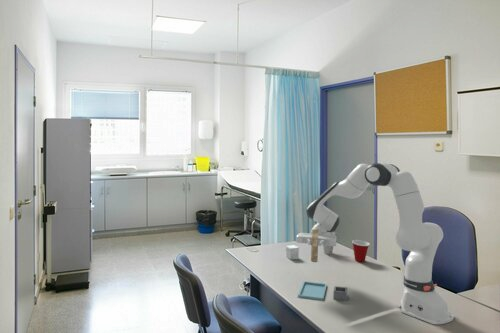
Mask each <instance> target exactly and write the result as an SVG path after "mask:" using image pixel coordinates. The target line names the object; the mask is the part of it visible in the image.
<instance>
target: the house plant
mask: <svg viewBox="0 0 500 333" xmlns="http://www.w3.org/2000/svg"><path fill="white" fill-rule="evenodd" d="M338 234H339V231H338V232H335V235H336V242H338V239H337V238H338V237H337V235H338ZM322 246H323V253H324V255H332V254H333V250H334V246H327V245H322Z"/></svg>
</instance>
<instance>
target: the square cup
mask: <svg viewBox="0 0 500 333" xmlns="http://www.w3.org/2000/svg"><path fill="white" fill-rule="evenodd" d="M333 300H337V301H345V302H347V300H348V287H347V286H346V287H345V286H336V285H334V286H333Z"/></svg>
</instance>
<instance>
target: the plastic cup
mask: <svg viewBox="0 0 500 333" xmlns="http://www.w3.org/2000/svg"><path fill="white" fill-rule="evenodd" d="M351 242H352V243H351V244H352V247H353V255H354V261H355V262H357V263H365V261H366V257H367V253H368V249H369V246H370V242H368V241H365V240H359V239H355V240H354V239H353V240H352V241H351Z"/></svg>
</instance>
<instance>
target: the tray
mask: <svg viewBox="0 0 500 333" xmlns="http://www.w3.org/2000/svg"><path fill="white" fill-rule="evenodd" d="M327 286H328V284H327V283H322V282H312V281H305V280H303V282H302V283H301V287H300V289H299V292H298V294H297V298H301V299H302V298H304V299H309V300H317V301H324V299H325V294H326V291H327V288H328V287H327Z"/></svg>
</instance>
